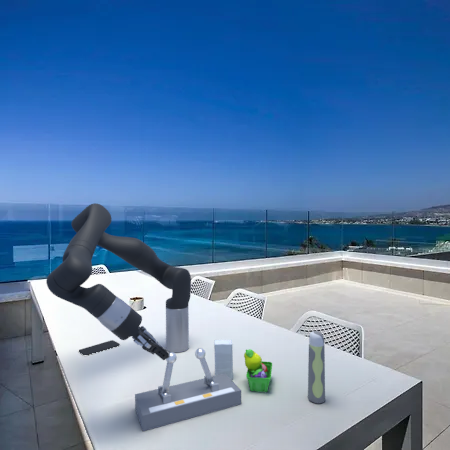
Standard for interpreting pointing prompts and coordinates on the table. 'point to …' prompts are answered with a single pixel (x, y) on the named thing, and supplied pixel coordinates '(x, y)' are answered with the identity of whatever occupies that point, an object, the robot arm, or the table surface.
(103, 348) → the phone
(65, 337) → the table surface
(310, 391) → the camo grip handle
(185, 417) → the switch console
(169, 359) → the switch near
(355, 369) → the table surface
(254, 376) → the fruit basket
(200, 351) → the switch far
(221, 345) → the skincare box
